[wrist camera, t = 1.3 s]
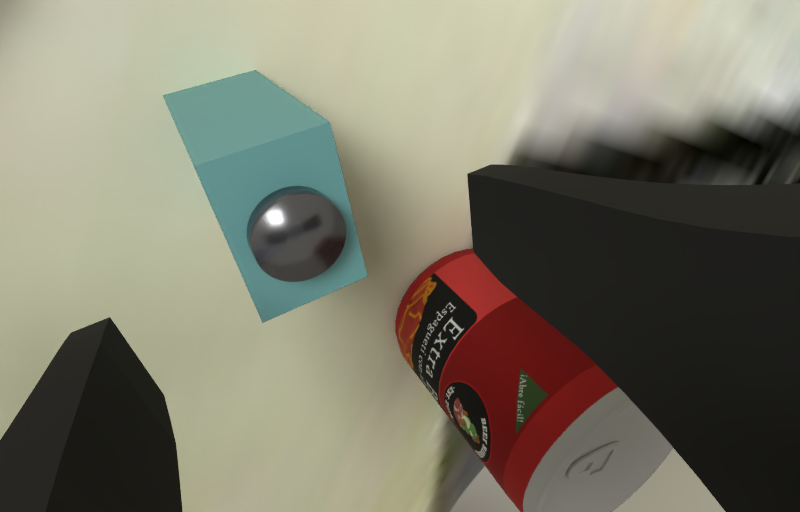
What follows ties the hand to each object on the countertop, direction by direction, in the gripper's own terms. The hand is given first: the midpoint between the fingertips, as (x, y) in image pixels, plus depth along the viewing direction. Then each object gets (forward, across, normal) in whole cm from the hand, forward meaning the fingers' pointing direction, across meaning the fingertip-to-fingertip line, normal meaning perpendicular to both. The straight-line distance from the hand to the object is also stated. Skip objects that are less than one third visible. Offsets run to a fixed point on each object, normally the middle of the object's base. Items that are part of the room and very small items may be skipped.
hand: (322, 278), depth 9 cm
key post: (+10, 0, 0) cm, 10 cm away
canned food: (+10, -8, +12) cm, 18 cm away
